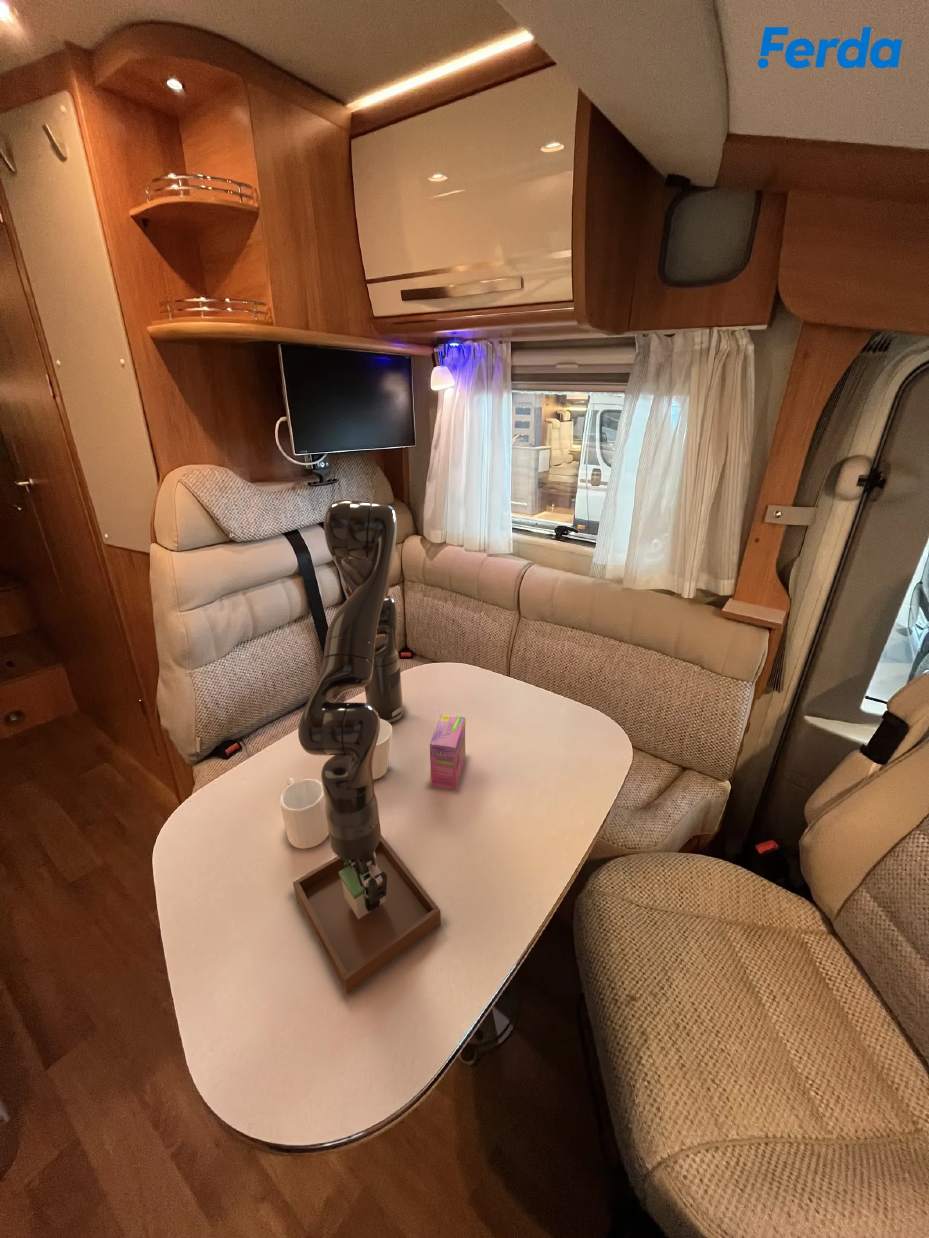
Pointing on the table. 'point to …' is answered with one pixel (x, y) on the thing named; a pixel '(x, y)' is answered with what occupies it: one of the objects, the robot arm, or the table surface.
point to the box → (447, 752)
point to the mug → (304, 813)
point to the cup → (382, 750)
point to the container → (354, 892)
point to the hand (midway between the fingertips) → (364, 892)
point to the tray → (366, 917)
